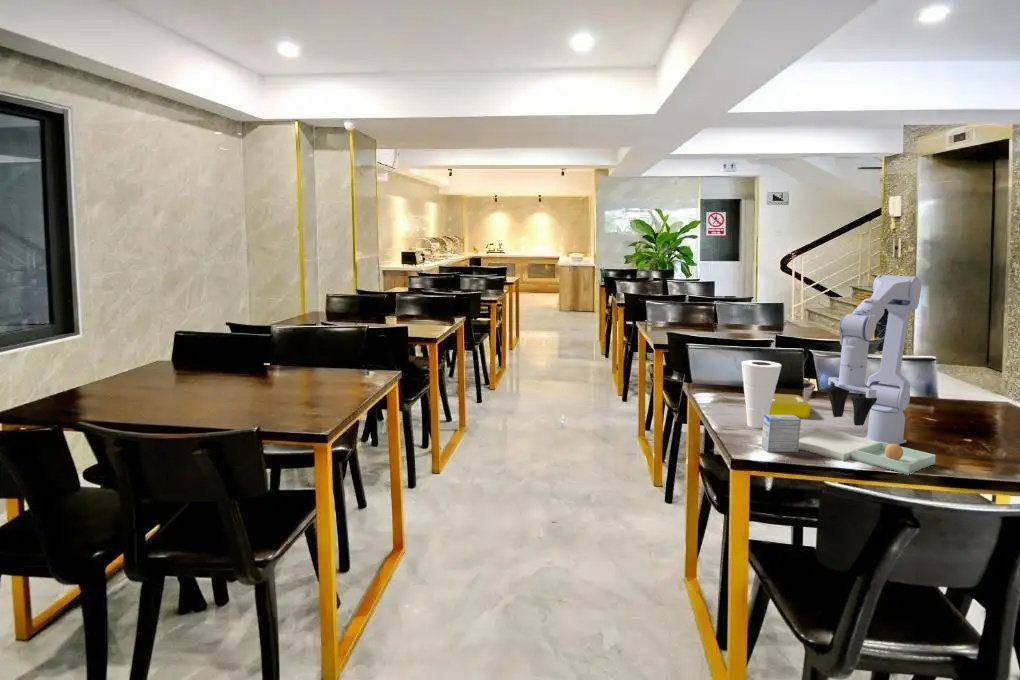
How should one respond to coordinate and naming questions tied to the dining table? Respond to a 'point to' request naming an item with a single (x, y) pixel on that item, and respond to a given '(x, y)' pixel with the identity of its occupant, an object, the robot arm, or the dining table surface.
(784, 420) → the medicine box
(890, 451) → the ball
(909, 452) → the dish
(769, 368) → the white paper towel roll
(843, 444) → the tray
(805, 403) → the element tile
